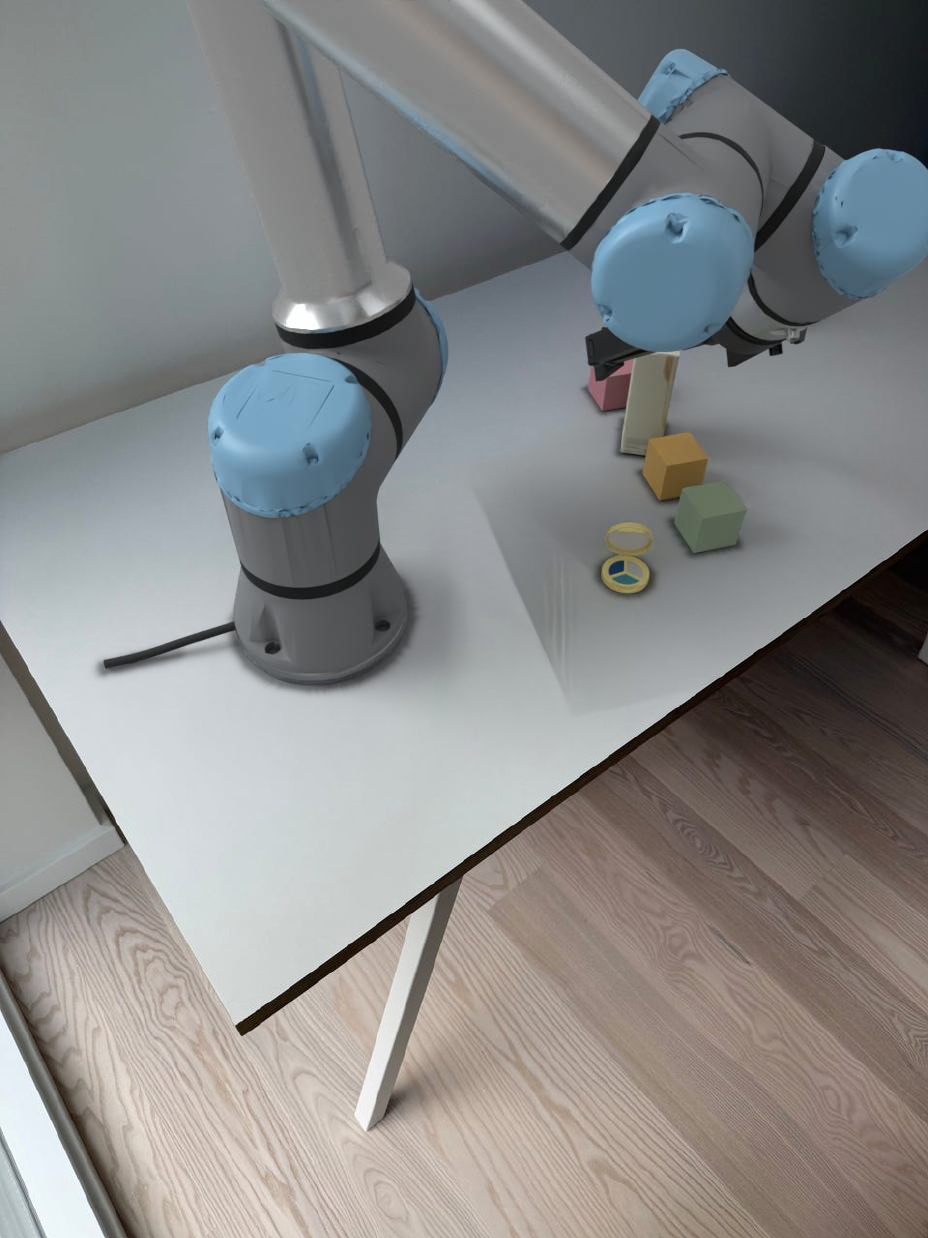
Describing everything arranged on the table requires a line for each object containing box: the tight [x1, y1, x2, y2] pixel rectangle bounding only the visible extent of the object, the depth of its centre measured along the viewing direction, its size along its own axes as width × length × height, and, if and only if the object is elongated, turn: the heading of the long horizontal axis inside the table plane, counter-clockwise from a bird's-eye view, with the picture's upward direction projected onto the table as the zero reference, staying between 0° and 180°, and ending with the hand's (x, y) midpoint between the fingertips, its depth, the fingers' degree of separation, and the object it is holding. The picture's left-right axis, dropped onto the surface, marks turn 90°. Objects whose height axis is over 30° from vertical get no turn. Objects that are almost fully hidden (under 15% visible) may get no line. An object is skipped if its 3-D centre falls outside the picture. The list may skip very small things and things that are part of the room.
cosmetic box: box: [620, 350, 681, 456], centre depth 93 cm, size 6×4×12 cm
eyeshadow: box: [600, 521, 654, 594], centre depth 82 cm, size 4×5×5 cm
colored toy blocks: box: [587, 359, 747, 554], centre depth 94 cm, size 4×28×4 cm, turn 16°
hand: (664, 360), depth 87 cm, fingers open, 13 cm apart
